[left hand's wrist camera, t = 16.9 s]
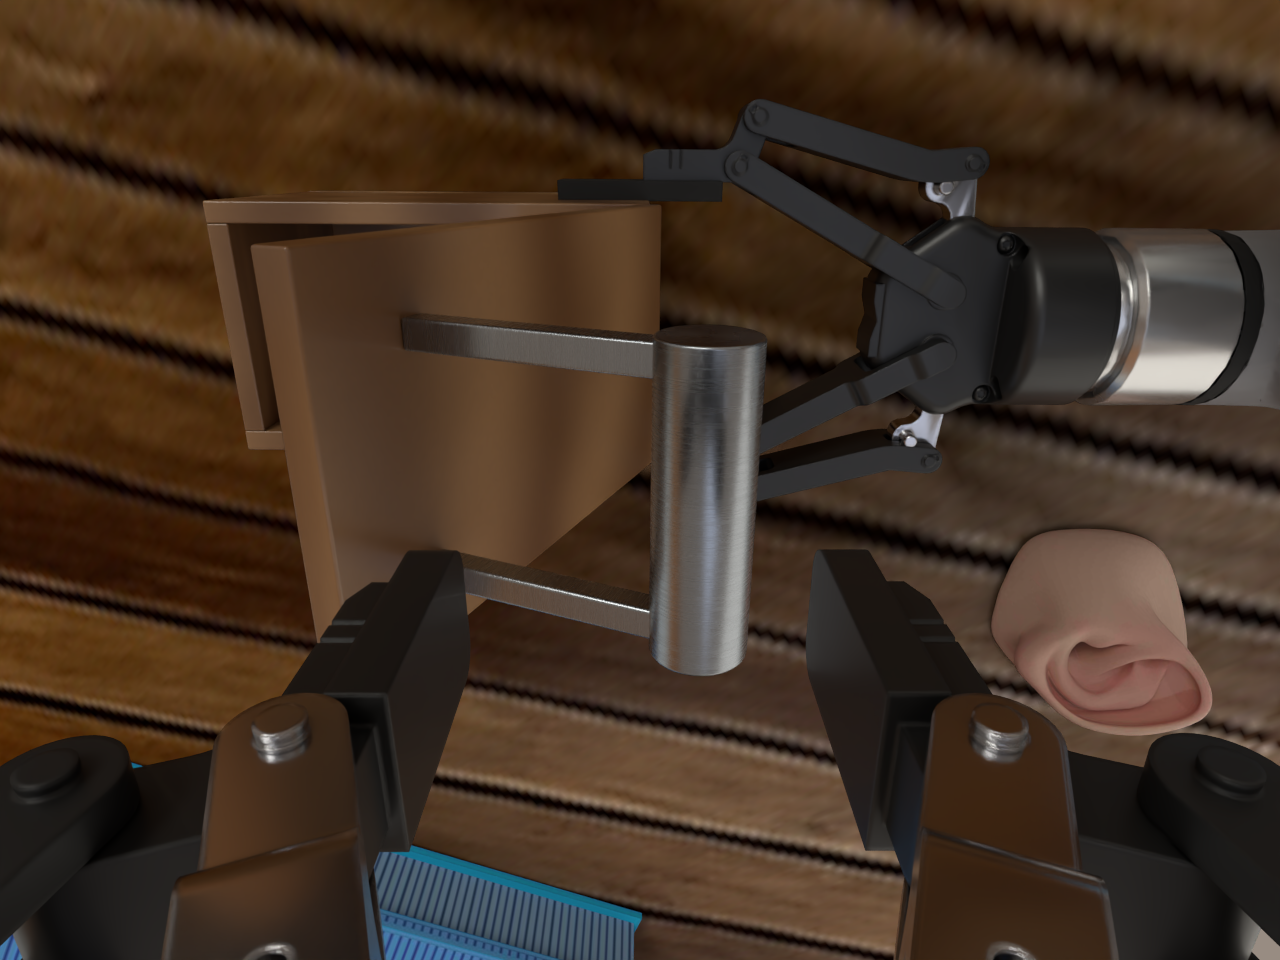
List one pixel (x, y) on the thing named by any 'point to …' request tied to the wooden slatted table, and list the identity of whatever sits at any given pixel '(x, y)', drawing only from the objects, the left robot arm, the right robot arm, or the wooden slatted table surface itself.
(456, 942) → the model building
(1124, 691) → the anatomical model
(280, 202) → the chest
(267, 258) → the lid
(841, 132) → the right robot arm
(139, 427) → the wooden slatted table surface
